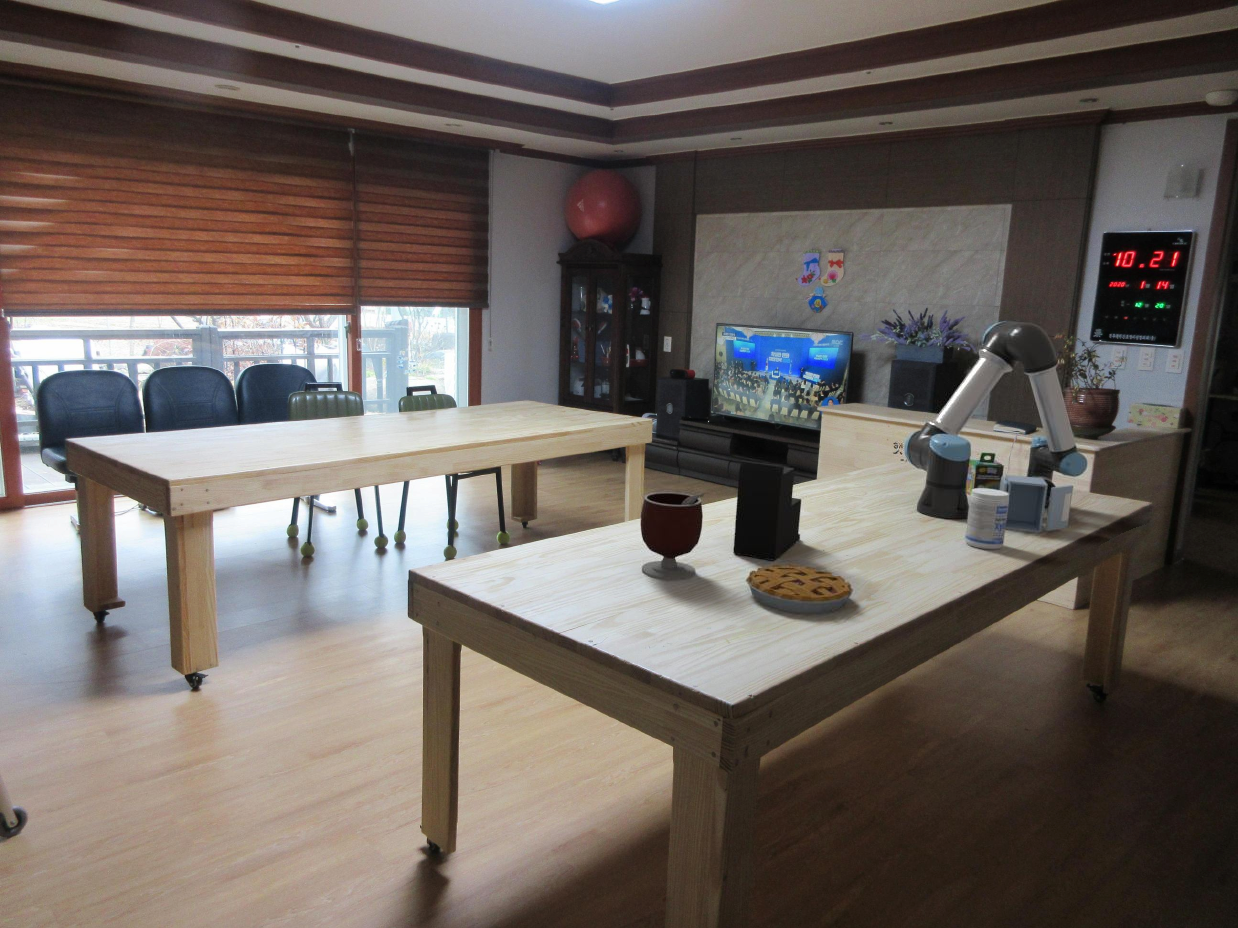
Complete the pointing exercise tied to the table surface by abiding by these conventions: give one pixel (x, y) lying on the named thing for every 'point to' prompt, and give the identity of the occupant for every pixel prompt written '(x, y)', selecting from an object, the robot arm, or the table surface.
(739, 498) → the black stepped block
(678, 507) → the mate gourd
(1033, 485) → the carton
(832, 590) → the pie
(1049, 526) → the right flap
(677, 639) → the table surface
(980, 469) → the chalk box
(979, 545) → the supplement tub
